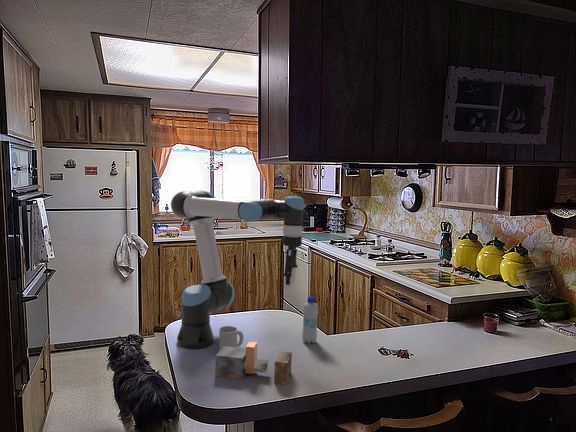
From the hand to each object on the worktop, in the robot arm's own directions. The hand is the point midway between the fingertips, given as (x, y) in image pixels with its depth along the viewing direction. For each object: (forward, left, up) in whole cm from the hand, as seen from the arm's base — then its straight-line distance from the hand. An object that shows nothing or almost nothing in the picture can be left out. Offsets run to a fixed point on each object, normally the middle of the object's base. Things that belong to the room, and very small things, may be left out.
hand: (289, 287), depth 173 cm
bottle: (+7, +13, -27) cm, 31 cm away
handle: (-12, -22, -26) cm, 36 cm away
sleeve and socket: (-8, -22, -27) cm, 36 cm away
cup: (-22, -4, -27) cm, 35 cm away
